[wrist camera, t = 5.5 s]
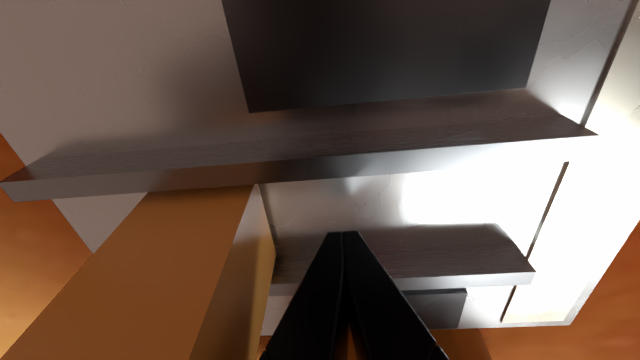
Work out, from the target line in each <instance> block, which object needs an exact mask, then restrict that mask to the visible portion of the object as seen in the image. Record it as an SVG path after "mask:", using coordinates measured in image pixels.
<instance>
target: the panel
mask: <svg viewBox="0 0 640 360" xmlns="http://www.w3.org/2000/svg"><path fill="white" fill-rule="evenodd" d="M0 133H1V134H2V135H3V137H4V138H5V139H6V141H7V142H8V143H9V145H10V146H11V147H12V148H13V150H14V151H15V152H16V154H17V155H18V156H19V158H20V159H21V160H22V162H23V163H24V164H25V167H24V168H22V169H20V170H19V171H17V172H15V173H13V174H12V175H10V176H8V177H7V178H5V179H3V180H2V181H0V186H1V188H2V189H3V190H4V191H5V192H6V193H7V195H8V196H9V197H10V198H11V199H12V200H13V202H21V201H35V200H48V199H51V200H52V201H53V202H54V204H55V205H56V206H57V207H58V209H59V210H60V211H61V213H62V214H63V215H64V217H65V218H66V219H67V221H68V222H69V223H70V224H71V226H72V227H73V228H74V230H75V231H76V232H77V234H78V235H79V236H80V238H81V239H82V240H83V242H84V243H85V244H86V245H87V247H88V248H89V249H90V251H91V252H92V253H93V254H94V253H95V251H96V250H97V249H98V248H99V247H100V246H101V245H102V244H103V242H104V241H105V240H106V239H107V238H108V237H109V236H110V235H111V233H112V232H113V231H114V230H115V229H116V228H117V227H118V226H119V224H120V223H121V222H122V221H123V220H124V219H125V218H126V216H127V215H128V214H129V213H130V212H131V211H132V210H133V209H134V207H135V206H136V205H137V204H138V203H139V202H140V201H141V200H142V198H143V197H144V196H145V195H146V194H147V193H148V192H157V191H170V190H184V189H198V188H211V187H225V186H238V185H252V184H258V186H259V190H260V194H261V198H262V201H263V205H264V209H265V213H266V217H267V220H268V224H269V228H270V232H271V235H272V239H273V243H274V247H275V251H276V258H275V263H274V268H273V274H272V279H271V284H270V289H269V294H268V300H267V305H266V310H265V315H264V320H263V325H262V331H261V336H264V335H273V333H274V331H275V329H276V327H277V326H278V324H279V322H280V320H281V318H282V316H283V314H284V312H285V310H286V309H287V307H288V305H289V303H290V301H291V299H292V297H293V295H294V294H295V292H296V290H297V288H298V286H299V284H300V282H301V280H302V279H303V277H304V275H305V273H306V271H307V269H308V267H309V265H310V263H311V262H312V260H313V258H314V256H315V254H316V252H317V250H318V248H319V247H320V245H321V243H322V241H323V239H324V237H325V235H326V234H327V233H328V232H332V231H342V232H343V231H348V230H357V231H358V232H359V233H360V234H361V236H362V237H363V239H364V240H365V241H366V243H367V244H368V246H369V247H370V248H371V250H372V251H373V253H374V254H375V256H376V257H377V258H378V260H379V261H380V263H381V264H382V265H383V267H384V268H385V270H386V271H387V272H388V274H389V275H390V277H391V278H392V280H393V281H394V282H395V284H396V285H397V287H398V288H399V289H400V291H401V292H402V294H403V295H404V296H405V298H406V299H407V301H408V302H409V304H410V305H411V306H412V308H413V309H414V311H415V312H416V313H417V315H418V316H419V318H420V319H421V320H422V322H423V323H424V325H425V326H426V328H427V329H428V330H438V329H467V328H496V327H525V326H554V325H570V324H571V322H572V321H573V319H574V318H575V316H576V315H577V313H578V312H579V310H580V309H581V307H582V306H583V304H584V303H585V301H586V300H587V298H588V297H589V295H590V294H591V292H592V291H593V289H594V288H595V286H596V285H597V283H598V282H599V280H600V279H601V277H602V275H603V274H604V272H605V271H606V269H607V268H608V266H609V265H610V263H611V262H612V260H613V259H614V257H615V256H616V254H617V253H618V251H619V250H620V248H621V247H622V245H623V244H624V242H625V241H626V239H627V238H628V236H629V235H630V233H631V232H632V230H633V228H634V227H635V225H636V224H637V222H638V221H639V219H640V0H0ZM349 333H351V330H350V324H349Z"/></svg>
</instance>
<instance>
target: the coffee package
mask: <svg viewBox="0 0 640 360" xmlns="http://www.w3.org/2000/svg"><path fill="white" fill-rule="evenodd" d="M429 332H430V333H431V335H432V336H433V337H434V339H435V340H436V342H437V344H436V345H439V346H440V347H441V348H442V350H443V351H444V353H445V354H446V355H447V357H448V358H449V360H492V359H491V357H490V354H489V352H488V349H487V347H486V344H485V342H484V340H483V338H482V335H481V333H480V332H479V330H478V329H477V328H467V329H438V330H429ZM347 360H356V356H355V351H354V346H353V340H352V335H351V333H349V334H348V356H347Z"/></svg>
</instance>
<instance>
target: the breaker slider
mask: <svg viewBox="0 0 640 360" xmlns="http://www.w3.org/2000/svg"><path fill="white" fill-rule="evenodd" d="M275 258H276V251H275V247H274V243H273V239H272V235H271V232H270V228H269V224H268V220H267V217H266V213H265V209H264V205H263V201H262V198H261V194H260V190H259V186H258V184H252V185H238V186H225V187H211V188H198V189H184V190H170V191H157V192H148V193H147V194H146V195H145V196H144V197H143V198H142V200H141V201H140V202H139V203H138V204H137V205H136V206H135V207H134V209H133V210H132V211H131V212H130V213H129V214H128V215H127V216H126V218H125V219H124V220H123V221H122V222H121V223H120V224H119V226H118V227H117V228H116V229H115V230H114V231H113V232H112V233H111V235H110V236H109V237H108V238H107V239H106V240H105V241H104V242H103V244H102V245H101V246H100V247H99V248H98V249H97V250H96V251H95V253H94V254H93V255H92V256H91V257H90V258H89V259H88V261H87V262H86V263H85V264H84V265H83V266H82V267H81V268H80V270H79V271H78V272H77V273H76V274H75V275H74V276H73V277H72V279H71V280H70V281H69V282H68V283H67V284H66V285H65V286H64V288H63V289H62V290H61V291H60V292H59V293H58V294H57V296H56V297H55V298H54V299H53V300H52V301H51V302H50V303H49V305H48V306H47V307H46V308H45V309H44V310H43V311H42V312H41V314H40V315H39V316H38V317H37V318H36V319H35V320H34V321H33V323H32V324H31V325H30V326H29V327H28V328H27V329H26V330H25V332H24V333H23V334H22V335H21V336H20V337H19V338H18V340H17V341H16V342H15V343H14V344H13V345H12V346H11V347H10V349H9V350H8V351H7V352H6V353H5V354H4V355H3V356H2V358H1V359H0V360H256V356H257V351H258V346H259V341H260V336H261V331H262V325H263V320H264V315H265V310H266V305H267V300H268V294H269V289H270V284H271V279H272V274H273V268H274V263H275Z"/></svg>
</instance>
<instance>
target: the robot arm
mask: <svg viewBox="0 0 640 360" xmlns="http://www.w3.org/2000/svg"><path fill="white" fill-rule="evenodd" d="M349 324H350V330H351V335H352V340H353V346H354V351H355V356H356V360H449V358H448V357H447V355H446V354H445V353H444V351H443V350H442V348H441V347H440V346H439V345H436V344H437V342H436V340H435V339H434V337H433V336H432V335H431V333H430V332H429V330H428V329H427V328H426V326H425V325H424V323H423V322H422V320H421V319H420V318H419V316H418V315H417V313H416V312H415V311H414V309H413V308H412V306H411V305H410V304H409V302H408V301H407V299H406V298H405V296H404V295H403V294H402V292H401V291H400V289H399V288H398V287H397V285H396V284H395V282H394V281H393V280H392V278H391V277H390V275H389V274H388V272H387V271H386V270H385V268H384V267H383V265H382V264H381V263H380V261H379V260H378V258H377V257H376V256H375V254H374V253H373V251H372V250H371V248H370V247H369V246H368V244H367V243H366V241H365V240H364V239H363V237H362V236H361V234H360V233H359V232H358V231H357V230H348V231H343V232H342V231H332V232H328V233H327V234H326V235H325V237H324V239H323V241H322V243H321V245H320V247H319V248H318V250H317V252H316V254H315V256H314V258H313V260H312V262H311V263H310V265H309V267H308V269H307V271H306V273H305V275H304V277H303V279H302V280H301V282H300V284H299V286H298V288H297V290H296V292H295V294H294V295H293V297H292V299H291V301H290V303H289V305H288V307H287V309H286V310H285V312H284V314H283V316H282V318H281V320H280V322H279V324H278V326H277V327H276V329H275V331H274V333H273V335H272V337H271V339H270V341H269V342H268V344H267V346H266V351H264V352H263V353H262V355H261V357H260V359H259V360H347V356H348V334H349Z"/></svg>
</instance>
